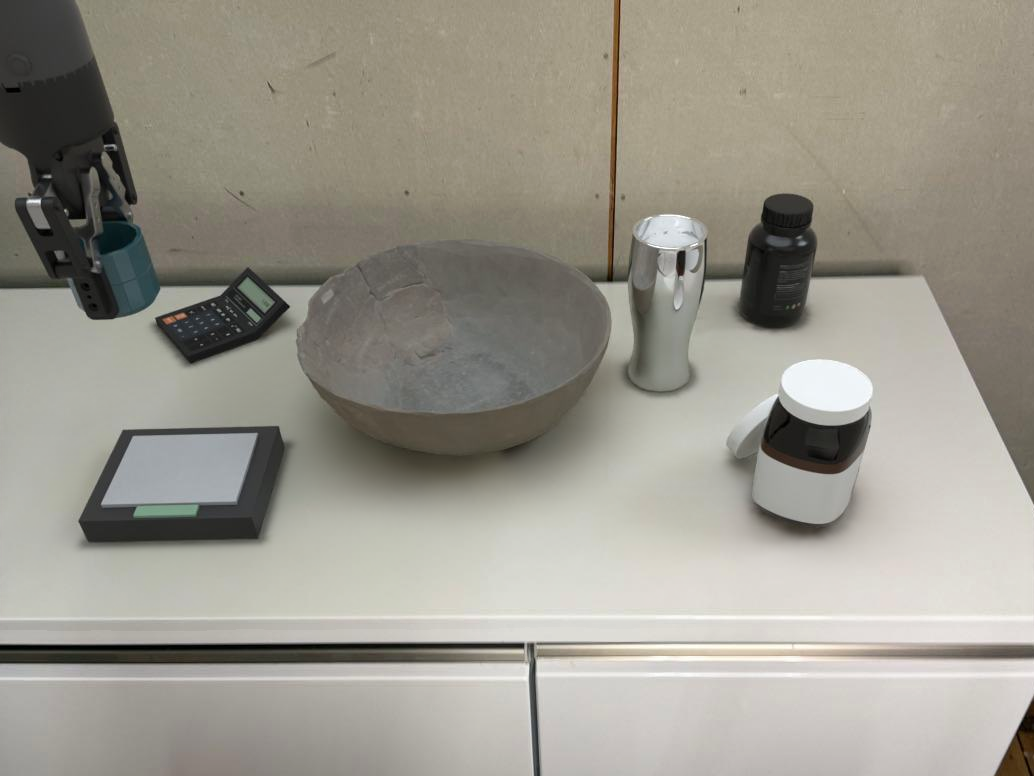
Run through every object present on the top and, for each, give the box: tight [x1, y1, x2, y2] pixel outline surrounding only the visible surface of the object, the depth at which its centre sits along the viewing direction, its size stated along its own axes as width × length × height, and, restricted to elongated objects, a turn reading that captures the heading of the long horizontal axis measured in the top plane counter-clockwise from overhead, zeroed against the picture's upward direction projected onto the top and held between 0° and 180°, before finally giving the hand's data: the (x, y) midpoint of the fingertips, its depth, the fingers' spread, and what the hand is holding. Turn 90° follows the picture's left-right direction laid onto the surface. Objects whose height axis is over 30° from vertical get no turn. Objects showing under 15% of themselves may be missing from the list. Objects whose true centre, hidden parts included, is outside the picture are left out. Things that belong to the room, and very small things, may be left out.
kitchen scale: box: [77, 425, 285, 543], centre depth 82 cm, size 14×12×3 cm
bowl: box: [295, 238, 613, 457], centre depth 88 cm, size 28×28×10 cm
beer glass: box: [627, 213, 709, 393], centre depth 89 cm, size 7×7×15 cm
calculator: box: [154, 266, 291, 365], centre depth 101 cm, size 9×12×3 cm
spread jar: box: [725, 358, 874, 528], centre depth 78 cm, size 12×11×12 cm
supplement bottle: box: [738, 192, 818, 328], centre depth 98 cm, size 7×7×12 cm
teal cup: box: [55, 220, 161, 319], centre depth 71 cm, size 6×6×5 cm
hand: (118, 293), depth 72 cm, fingers closed on teal cup, 6 cm apart
